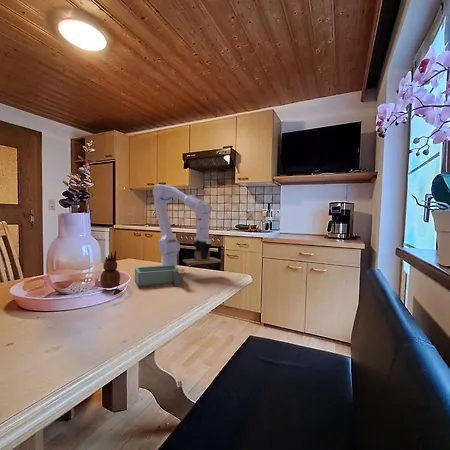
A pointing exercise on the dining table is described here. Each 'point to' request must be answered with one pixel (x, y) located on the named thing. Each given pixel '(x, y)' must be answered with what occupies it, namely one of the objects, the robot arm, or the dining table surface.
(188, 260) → the lid
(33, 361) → the dining table surface
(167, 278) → the green rectangular open box
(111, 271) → the wooden figurine
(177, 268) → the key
